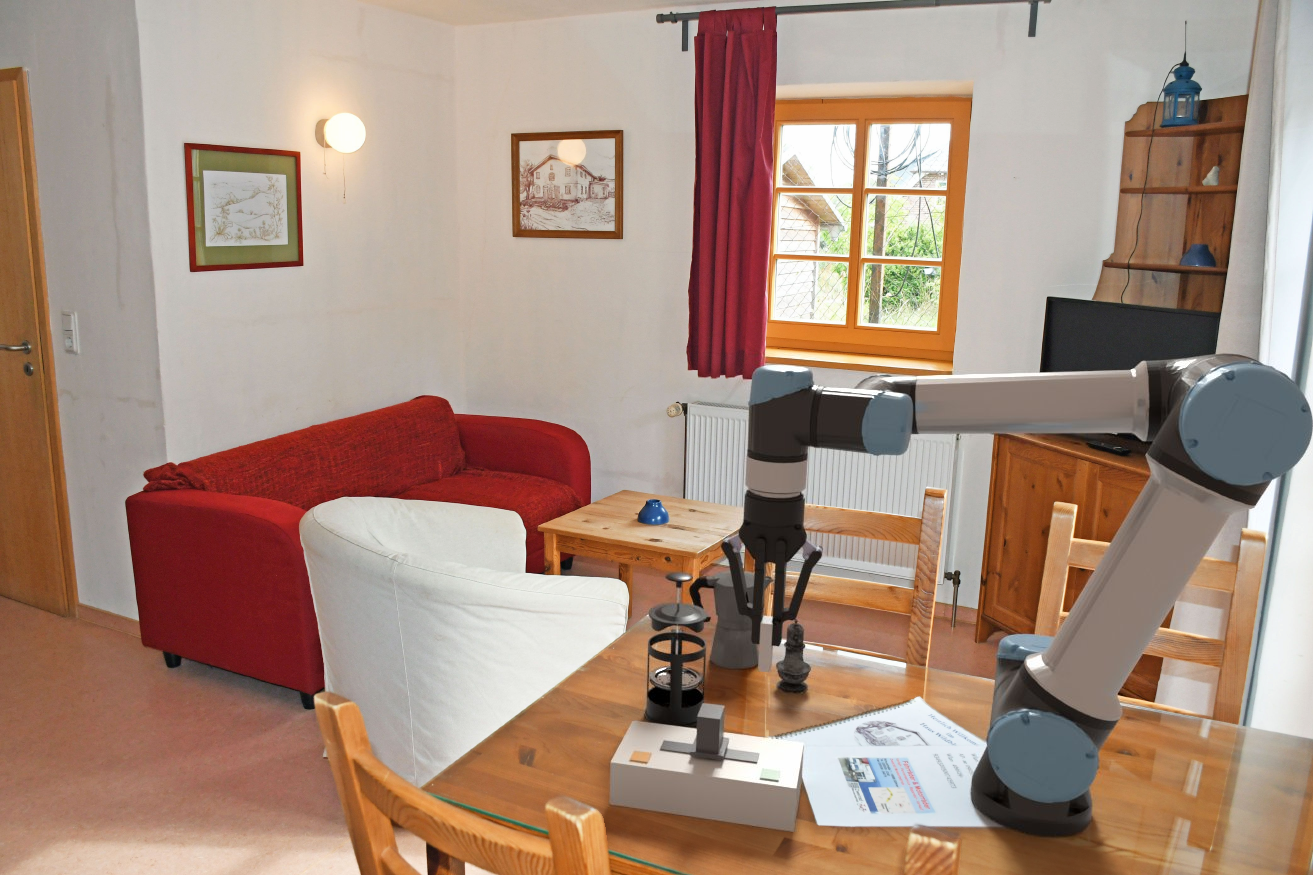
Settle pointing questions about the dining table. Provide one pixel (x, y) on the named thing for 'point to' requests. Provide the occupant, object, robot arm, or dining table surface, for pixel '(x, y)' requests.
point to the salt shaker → (793, 662)
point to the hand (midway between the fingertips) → (765, 667)
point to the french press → (676, 662)
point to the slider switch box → (708, 776)
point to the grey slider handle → (710, 733)
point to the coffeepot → (729, 621)
